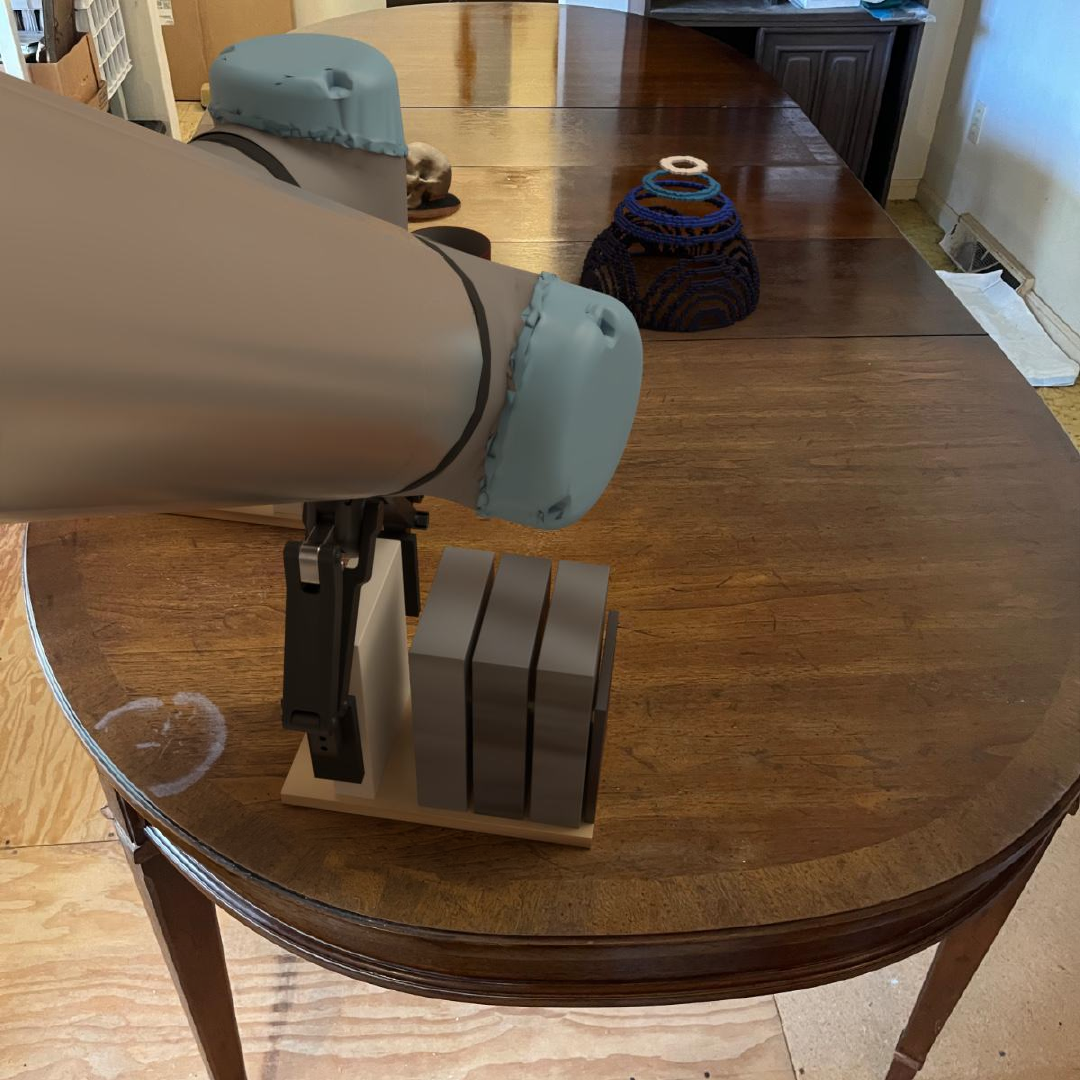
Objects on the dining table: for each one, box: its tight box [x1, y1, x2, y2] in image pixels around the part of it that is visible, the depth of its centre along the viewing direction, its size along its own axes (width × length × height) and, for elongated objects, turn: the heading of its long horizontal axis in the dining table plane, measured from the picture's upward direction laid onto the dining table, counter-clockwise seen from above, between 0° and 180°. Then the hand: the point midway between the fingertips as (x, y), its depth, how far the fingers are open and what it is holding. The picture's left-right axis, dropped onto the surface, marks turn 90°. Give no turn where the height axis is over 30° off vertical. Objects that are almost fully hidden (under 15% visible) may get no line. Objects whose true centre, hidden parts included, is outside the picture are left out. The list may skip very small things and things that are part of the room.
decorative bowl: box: [579, 155, 761, 333], centre depth 117 cm, size 20×20×14 cm
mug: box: [409, 225, 492, 261], centre depth 106 cm, size 12×9×11 cm
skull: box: [406, 141, 462, 220], centre depth 138 cm, size 12×10×10 cm
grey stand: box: [279, 545, 620, 849], centre depth 63 cm, size 10×19×14 cm, turn 82°
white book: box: [333, 538, 410, 799], centre depth 64 cm, size 9×2×13 cm, turn 172°
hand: (372, 687), depth 65 cm, fingers open, 13 cm apart
